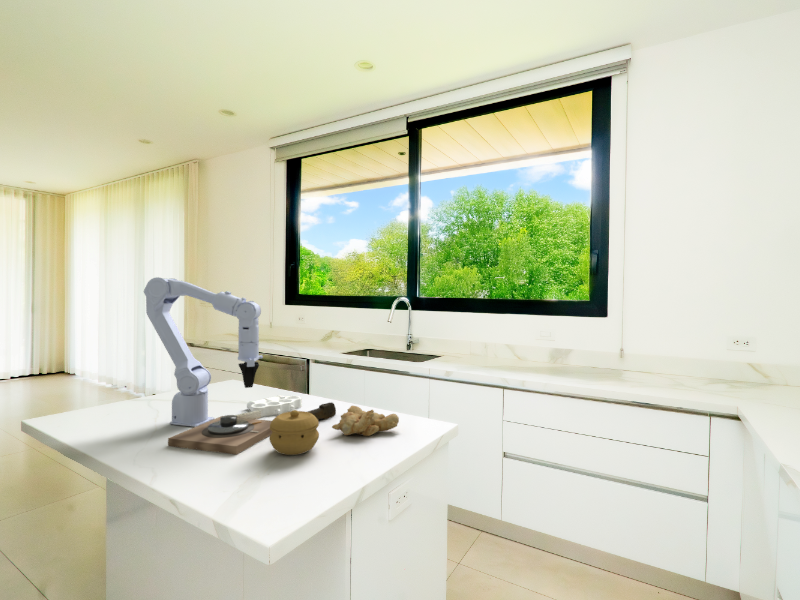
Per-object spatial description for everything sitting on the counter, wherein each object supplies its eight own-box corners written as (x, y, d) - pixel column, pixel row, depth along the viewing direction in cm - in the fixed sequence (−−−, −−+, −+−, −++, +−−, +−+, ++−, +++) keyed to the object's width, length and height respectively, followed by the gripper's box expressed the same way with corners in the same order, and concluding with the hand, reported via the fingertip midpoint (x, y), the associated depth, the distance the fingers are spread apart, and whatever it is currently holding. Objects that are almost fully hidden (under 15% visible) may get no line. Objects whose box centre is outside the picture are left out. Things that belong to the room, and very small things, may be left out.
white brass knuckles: (284, 401, 150) (310, 409, 141) (237, 412, 137) (262, 421, 127) (284, 392, 150) (310, 399, 141) (237, 402, 137) (262, 410, 127)
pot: (275, 443, 108) (275, 404, 108) (321, 442, 109) (321, 403, 108) (264, 461, 96) (264, 417, 96) (315, 460, 97) (315, 417, 97)
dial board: (168, 446, 105) (168, 437, 105) (221, 422, 124) (222, 415, 124) (236, 454, 100) (236, 445, 100) (281, 428, 119) (281, 421, 119)
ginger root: (320, 428, 116) (326, 399, 117) (361, 428, 127) (367, 402, 128) (357, 444, 105) (364, 412, 106) (399, 443, 117) (404, 414, 118)
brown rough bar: (290, 432, 117) (290, 415, 117) (281, 429, 120) (282, 413, 119) (341, 417, 131) (341, 402, 131) (332, 415, 134) (333, 400, 134)
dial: (217, 437, 105) (217, 425, 105) (201, 428, 112) (201, 417, 112) (268, 424, 115) (268, 414, 115) (251, 417, 122) (251, 407, 122)
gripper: (265, 343, 120) (265, 391, 120) (260, 338, 133) (259, 381, 133) (239, 344, 117) (239, 393, 117) (236, 339, 130) (236, 383, 131)
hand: (248, 387), depth 125 cm, fingers closed
